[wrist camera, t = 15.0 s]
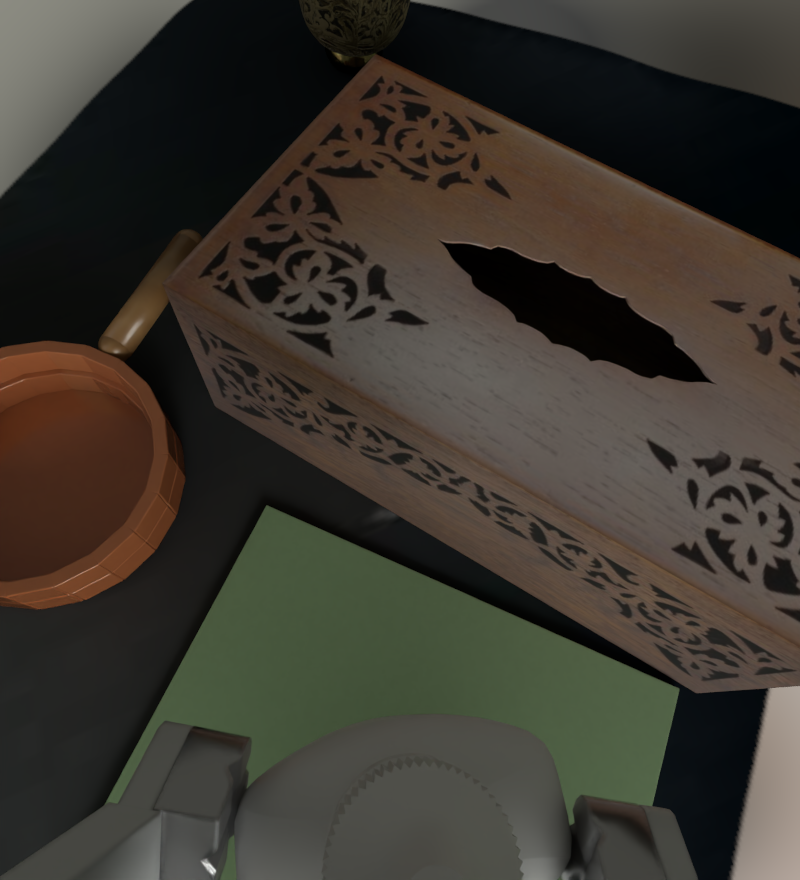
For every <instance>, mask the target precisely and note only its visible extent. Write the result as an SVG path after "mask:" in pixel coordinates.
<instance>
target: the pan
mask: <svg viewBox="0 0 800 880" xmlns="http://www.w3.org/2000/svg"><path fill="white" fill-rule="evenodd" d="M185 478H186V477H185V468H184V458H183V449H182V444H181V441H180V439H179V437H178V435H177V433H176V431H175V429H174V427H173V425H172V423H171V421H170V419H169V417H168V415H167V414H166V412H165V410H164V409H163V407H162V405H161V404H160V402H159V400H158V399H157V397H156V396H155V394H154V392H153V391H152V389H151V387H150V386H149V385H148V383H147V382H146V381H145V380H143V379H142V378H141V377H140V376H139V375H138V374H137V373H136V372H135V371H134V370H132V369H131V368H130V367H129V366H128V365H127V364H126V363H125V362H124V361H122V360H121V359H118V358H116V357H114V356H111V355H109V354H107V353H104V352H102V351H100V350H98V349H95V348H93V347H91V346H88V345H83V344H74V343H65V342H57V341H39V342H33V343H26V344H19V345H12V346H6V347H2V348H0V606H9V607H19V608H28V609H46V608H51V607H56V606H61V605H66V604H70V603H75V602H80V601H83V600H86V599H88V598H90V597H92V596H94V595H96V594H98V593H100V592H102V591H104V590H106V589H108V588H110V587H111V586H113V585H115V584H117V583H119V582H121V581H123V579H126V578H127V577H128V576H129V575H130V574H131V573H132V572H133V571H134V570H135V569H136V568H138V567H139V566H140V565H141V564H142V563H143V562H144V561H145V560H146V559H147V558H148V557H149V556H150V555H151V554H153V553H154V552H155V549H157V548H158V546H159V544H160V543H161V541H162V539H163V538H164V536H165V534H166V533H167V531H168V529H169V528H170V526H171V524H172V522H173V521H174V519H175V517H176V515H177V513H178V509H179V504H180V500H181V496H182V492H183V487H184V483H185Z"/></svg>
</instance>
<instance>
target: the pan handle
mask: <svg viewBox="0 0 800 880" xmlns="http://www.w3.org/2000/svg"><path fill="white" fill-rule="evenodd" d="M202 240H203V238H202V237H201V235H200V234H198V233H197V232H196V231H194V230H190V229H184V230H181V231H179V232H178V233H177V234H176V235H175V236H174V238H173V239H172V240H171V242H170V243H169V245H168V246H167V247H166V249H165V250H164V251H163V253H162V254H161V255H160V257H159V258H158V260H157V261H156V262H155V264H154V265H153V266H152V268H151V269H150V270H149V272H148V273H147V275H146V276H145V277H144V279H143V280H142V281H141V283H140V284H139V285H138V287H137V288H136V290H135V291H134V292H133V294H132V295H131V296H130V298H129V299H128V300H127V302H126V303H125V305H124V306H123V307H122V309H121V310H120V311H119V313H118V314H117V315H116V317H115V318H114V320H113V321H112V322H111V324H110V325H109V326H108V328H107V329H106V330H105V332H104V333H103V335H102V336H101V337H100V339H99V342H98V348H99V350H100V351H102V352H104V353H107V354H109V355H111V356H114V357H116V358H118V359H121V360H122V361H126V360H128V359H129V358H130V357H131V356H132V354H133V353H134V351H135V350H136V348H137V347H138V346H139V344H140V343H141V341H142V340H143V338H144V337H145V336H146V334H147V333H148V331H149V330H150V328H151V327H152V326H153V324H154V323H155V321H156V320H157V318H158V317H159V316H160V314H161V313H162V311H163V310H164V308H165V307H166V306H167V304H168V303H169V298H168V296H167V294H166V291H165V289H164V287H163V284H162V283H163V282H164V281H165V280H166V278H167V277H168V276H169V275H170V274H171V273H172V272H173V271H174V270H175V269H176V268H177V267H178V266H179V264H180V263H181V262H182V261H183V260H184V259H185V258H186V257H187V256H188V255H189V254H190V253H191V252H192V251H193V249H194V248H195V247H196V246H197V245H198V244H199V243H200V242H201V241H202Z"/></svg>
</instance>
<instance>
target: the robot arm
mask: <svg viewBox="0 0 800 880" xmlns="http://www.w3.org/2000/svg"><path fill="white" fill-rule="evenodd" d="M251 745H252V738H251V737H247V736H242V735H237V734H232V733H227V732H222V731H218V730H213V729H208V728H203V727H198V726H191V725H186V724H181V723H176V722H171V721H166V720H165V721H164V722H163V723H162V724H161V725H160V726H159V727H158V729H157V731H156V733H155V734H154V736H153V738H152V740H151V742H150V744H149V746H148V748H147V749H146V751H145V753H144V755H143V757H142V759H141V761H140V763H139V764H138V766H137V768H136V770H135V772H134V774H133V776H132V778H131V779H130V781H129V783H128V785H127V787H126V789H125V791H124V793H123V794H122V796H121V798H120V800H119V802H118V804H116V803H109V802H108V803H107V804H106V805H104V806H103V807H101V808H100V809H98V810H97V811H95V812H94V813H92V814H91V815H89V816H88V817H86V818H85V819H84V820H82V821H81V822H79V823H78V824H76V825H75V826H73V827H72V828H70V829H69V830H67V831H66V832H65V833H63V834H62V835H60V836H59V837H57V838H56V839H54V840H53V841H51V842H50V843H48V844H47V845H46V846H44V847H43V848H41V849H40V850H38V851H37V852H35V853H34V854H32V855H31V856H29V857H28V858H26V859H25V860H24V861H22V862H21V863H19V864H18V865H16V866H15V867H13V868H12V869H10V870H9V871H7V872H6V873H5V874H3V875H2V876H0V880H220V879H221V876H222V873H223V870H224V867H225V864H226V861H227V852H228V842H229V838H231V837H232V836H233V835H234V821H235V818H236V815H237V812H238V808H239V804H240V801H241V799H242V797H243V795H244V793H245V791H246V790H247V786H248V778H249V772H248V770H247V769H246V767H247V764H248V761H249V758H250V755H251ZM572 811H573V816H574V822H575V823H573V824H572V825H570V831H571V836H572V844H571V858H570V860H569V862H568V864H567V866H566V868H565V870H564V872H563V874H562V875H561V876H560V880H698V878H697V875H696V872H695V870H694V867H693V864H692V861H691V859H690V856H689V853H688V851H687V848H686V845H685V842H684V840H683V837H682V834H681V831H680V829H679V826H678V823H677V820H676V818H675V815H674V814H673V813H672V812H671V810H670V809H664V808H658V807H652V806H647V805H641V804H640V805H638V804H636V803H631V802H625V801H619V800H612V799H606V798H600V797H594V796H588V795H582V794H581V795H580V796H579V797H578V798H577V799H576V801H575V804H574V806H573V809H572Z"/></svg>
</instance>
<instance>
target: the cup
mask: <svg viewBox="0 0 800 880" xmlns="http://www.w3.org/2000/svg"><path fill="white" fill-rule="evenodd" d="M299 3H300V7H301V11H302V14H303V17H304V20H305V22H306V24H307V26H308V28H309V30H310V31H311V33H312V34H313V35H314V37H315V38H316V39H317V40H318V41H319V42H320V43H321V44H322V45H323V46H325V52H326V55H327V57H328V59H329V61H330V63H331V64H332V65H333V66H334V67H335V68H336V69H337V70H339V71H341V72H343V73H346V74H352V75H357V73H358V72H359V71H360V70H361V69H362V68H363V67H364V66H365V65H366V64H367V63H368V62H369V61H370V59H371V58H372V57H373V56H374V55H375V54H376V55H378V56H382V53H383V49H384V48H386V47H387V46H388V45H389V44H391V42H392V41H393V40H394V39H395V38H396V36H397V35H398V33H399V32H400V30H401V28H402V26H403V23H404V21H405V18H406V15H407V11H408V8H409V4H410V0H299Z"/></svg>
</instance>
